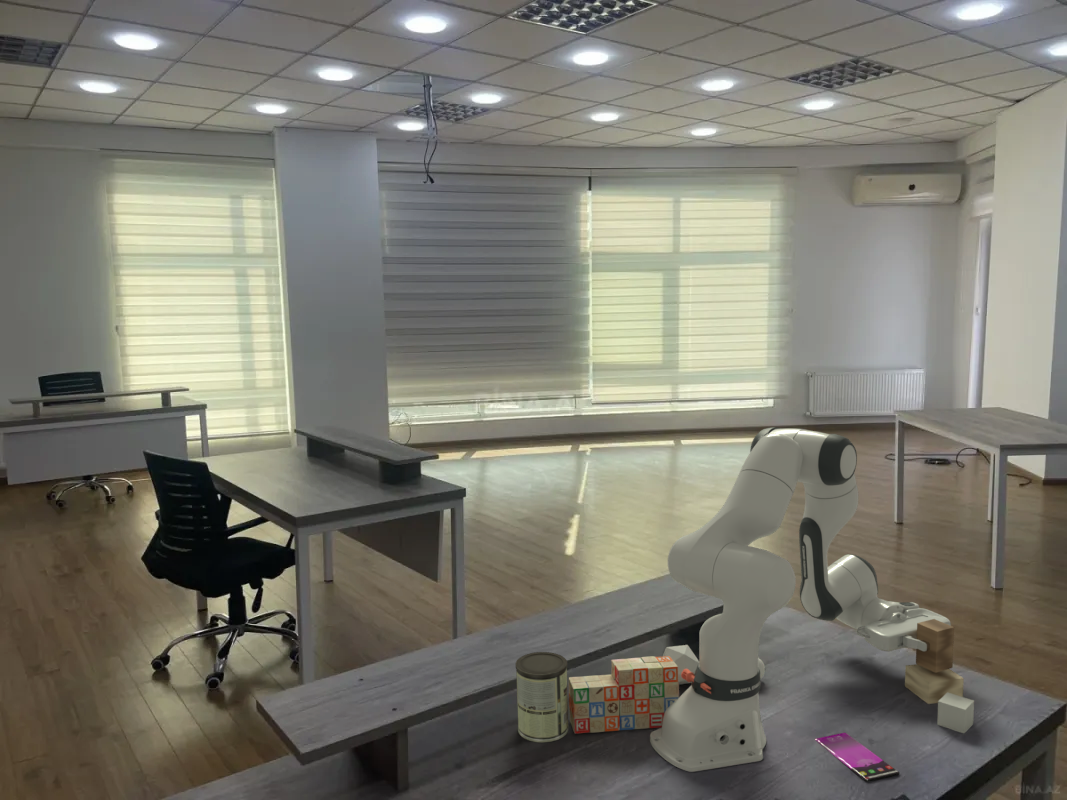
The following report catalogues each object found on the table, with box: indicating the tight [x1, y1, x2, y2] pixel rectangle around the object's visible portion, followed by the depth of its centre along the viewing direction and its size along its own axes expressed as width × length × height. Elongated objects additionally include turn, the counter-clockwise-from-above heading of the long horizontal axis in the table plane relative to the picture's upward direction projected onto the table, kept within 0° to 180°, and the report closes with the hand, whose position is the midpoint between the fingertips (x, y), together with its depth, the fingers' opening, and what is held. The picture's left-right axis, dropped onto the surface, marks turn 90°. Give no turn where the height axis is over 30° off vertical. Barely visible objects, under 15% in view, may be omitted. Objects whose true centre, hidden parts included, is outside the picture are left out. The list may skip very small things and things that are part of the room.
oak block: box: [904, 663, 965, 705], centre depth 175 cm, size 8×8×5 cm
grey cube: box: [936, 692, 975, 734], centre depth 162 cm, size 5×5×5 cm
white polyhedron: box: [661, 644, 699, 686], centre depth 183 cm, size 8×9×10 cm
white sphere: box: [758, 657, 766, 680], centre depth 184 cm, size 8×6×6 cm
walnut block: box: [915, 619, 955, 673], centre depth 174 cm, size 5×5×9 cm
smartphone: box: [814, 732, 900, 783], centre depth 152 cm, size 7×15×1 cm, turn 16°
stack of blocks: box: [568, 655, 680, 734], centre depth 165 cm, size 21×6×12 cm, turn 97°
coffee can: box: [515, 651, 570, 743], centre depth 164 cm, size 10×10×14 cm
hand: (938, 644), depth 173 cm, fingers closed on walnut block, 5 cm apart
